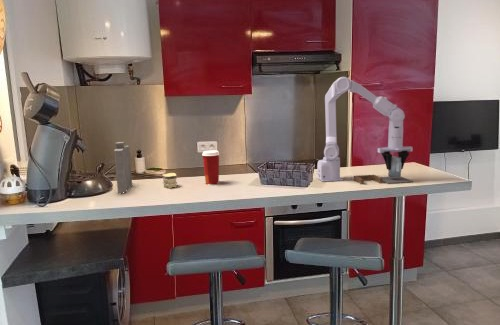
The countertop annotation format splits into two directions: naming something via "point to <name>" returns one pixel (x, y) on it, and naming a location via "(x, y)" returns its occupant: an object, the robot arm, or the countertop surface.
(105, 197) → the countertop surface
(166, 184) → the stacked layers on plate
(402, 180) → the rubber mat
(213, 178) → the paper cup
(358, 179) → the jug holder
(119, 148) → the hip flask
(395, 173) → the jug
